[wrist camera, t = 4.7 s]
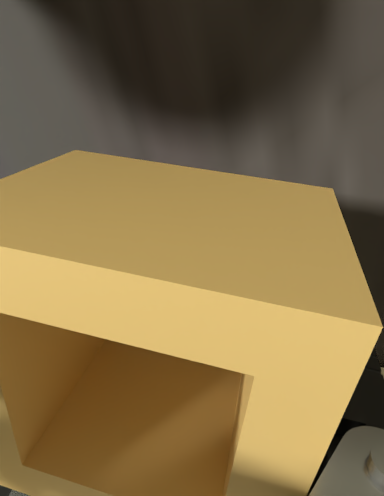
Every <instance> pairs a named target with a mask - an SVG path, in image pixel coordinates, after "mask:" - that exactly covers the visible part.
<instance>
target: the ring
mask: <svg viewBox="0 0 384 496" xmlns="http://www.w3.org/2000/svg"><path fill="white" fill-rule="evenodd" d="M382 328H383V326H382V323H381V320H380V318H379V315H378V312H377V309H376V307H375V304H374V301H373V298H372V296H371V293H370V290H369V287H368V285H367V282H366V279H365V276H364V274H363V271H362V268H361V265H360V263H359V260H358V257H357V254H356V252H355V249H354V246H353V243H352V241H351V238H350V235H349V232H348V230H347V227H346V224H345V221H344V219H343V216H342V213H341V210H340V208H339V205H338V202H337V199H336V197H335V194H334V191H333V189H331V188H325V187H318V186H311V185H305V184H298V183H291V182H285V181H278V180H271V179H265V178H258V177H252V176H245V175H238V174H232V173H225V172H218V171H212V170H205V169H198V168H192V167H185V166H178V165H172V164H165V163H159V162H152V161H145V160H139V159H132V158H125V157H119V156H112V155H105V154H99V153H92V152H85V151H79V150H74V151H72V152H69V153H67V154H64V155H61V156H59V157H56V158H54V159H51V160H49V161H46V162H43V163H41V164H38V165H36V166H33V167H31V168H28V169H25V170H23V171H20V172H18V173H15V174H13V175H10V176H7V177H5V178H2V179H0V485H1V486H4V487H7V488H10V489H13V490H16V491H19V492H22V493H24V494H27V495H30V496H307V494H308V491H309V489H310V487H311V485H312V483H313V480H314V478H315V476H316V474H317V472H318V469H319V467H320V465H321V463H322V461H323V458H324V456H325V454H326V452H327V450H328V447H329V445H330V443H331V441H332V439H333V436H334V434H335V432H336V430H337V428H338V425H339V423H340V421H341V419H342V417H343V414H344V412H345V410H346V408H347V405H348V403H349V401H350V399H351V397H352V394H353V392H354V390H355V388H356V386H357V383H358V381H359V379H360V377H361V375H362V372H363V370H364V368H365V366H366V364H367V361H368V359H369V357H370V355H371V353H372V350H373V348H374V346H375V344H376V342H377V339H378V337H379V335H380V333H381V331H382Z"/></svg>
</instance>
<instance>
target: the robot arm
mask: <svg viewBox="0 0 384 496" xmlns="http://www.w3.org/2000/svg"><path fill="white" fill-rule="evenodd" d="M307 496H384V377H383V375H382V374H381V367H380V364H379V361H378V359H377V354H376V351H375V348H373V350H372V353H371V355H370V357H369V359H368V361H367V364H366V366H365V368H364V370H363V372H362V375H361V377H360V379H359V381H358V383H357V386H356V388H355V390H354V392H353V394H352V397H351V399H350V401H349V403H348V405H347V408H346V410H345V412H344V414H343V417H342V419H341V421H340V423H339V425H338V428H337V430H336V432H335V434H334V436H333V439H332V441H331V443H330V445H329V447H328V450H327V452H326V454H325V456H324V458H323V461H322V463H321V465H320V467H319V469H318V472H317V474H316V476H315V478H314V480H313V483H312V485H311V487H310V489H309V491H308V494H307Z"/></svg>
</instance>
